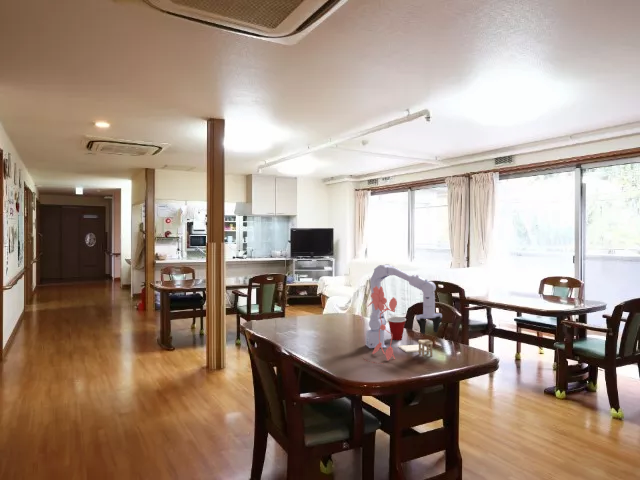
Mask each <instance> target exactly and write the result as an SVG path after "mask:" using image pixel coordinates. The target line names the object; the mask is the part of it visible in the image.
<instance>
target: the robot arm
mask: <svg viewBox="0 0 640 480" xmlns="http://www.w3.org/2000/svg"><path fill="white" fill-rule="evenodd" d="M390 276H396V277H398V278H400V279H402V280H404V281H407V282H408V284H409V285H410V286H411V287H414V288H416V289H417V290H419V291H422V295H423V296H422V307H423V308H422V309H423V310H422V314H415V320H416V322H417V324H418V326H419V329H420V334H423V335H425V334H426V324H427V320H425V319H431V320H432V326H433V333H439V327H440V325H441V322H442V320H443V313H440V312H439V313H436V295H435V294H436V293H435V291H436V289H437V286H436V284H435V282H433V281H432V280H428V279H427V278H426V279H425V278H423V277H420V275H419V274H412V275H411V274H409V273H407V272H405V271H403V270H402V269H399V267H398V268H397V267H395V266H394V265H390V264H389V263H388V264H387V263H386V264H379V265H378V266H376V267H375V268H374V269H373V273H372V275H371V277H370V291H371V292H370V293H371V294H372V293H374V291H373V288H375V286H377V287H378V289H380V287H382V283H381V282H382V281H384V280H385V278H387V277H390ZM371 294H370V295H371ZM372 301H373V299H372V298H371V302H372ZM382 312H383V311H382ZM382 312H381V311H380V310H379V308H378V309H377V310H375V307H374V304H373V303H372V304H371V314H370V316H369V322H368V326H369V328H370V329H368V330H366V332H365V345H366V347H368V349H375V347H376V346H377V345H378V344H379V329H380V326H381V325H385V326H386V324H387V319H386V318H385V313H384V312H383V313H382ZM380 313H382V314H381V319H382V324H381V319H380ZM380 343H382V345H381V346H382V349H384V348H385V349H387V348H388V347H387V345H385V330H381V329H380ZM380 348H381V347H380Z"/></svg>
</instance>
